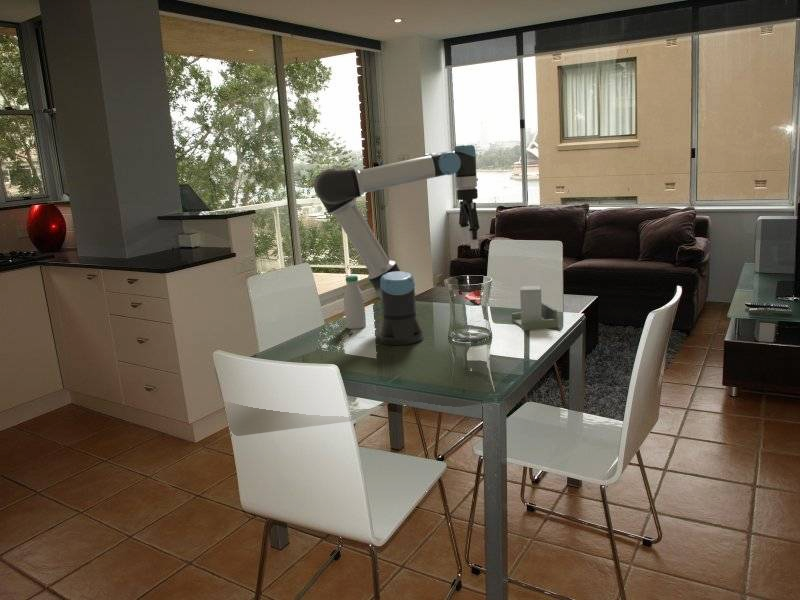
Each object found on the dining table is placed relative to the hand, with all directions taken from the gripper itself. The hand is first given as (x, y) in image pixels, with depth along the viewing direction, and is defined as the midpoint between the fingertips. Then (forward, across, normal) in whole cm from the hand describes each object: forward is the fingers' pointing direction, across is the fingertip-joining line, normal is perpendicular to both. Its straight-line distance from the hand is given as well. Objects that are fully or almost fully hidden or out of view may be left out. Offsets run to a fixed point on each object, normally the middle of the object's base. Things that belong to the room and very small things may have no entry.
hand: (469, 246), depth 241 cm
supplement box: (+28, -14, -18) cm, 36 cm away
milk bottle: (+29, +11, +44) cm, 54 cm away
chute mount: (+29, -14, -19) cm, 37 cm away
